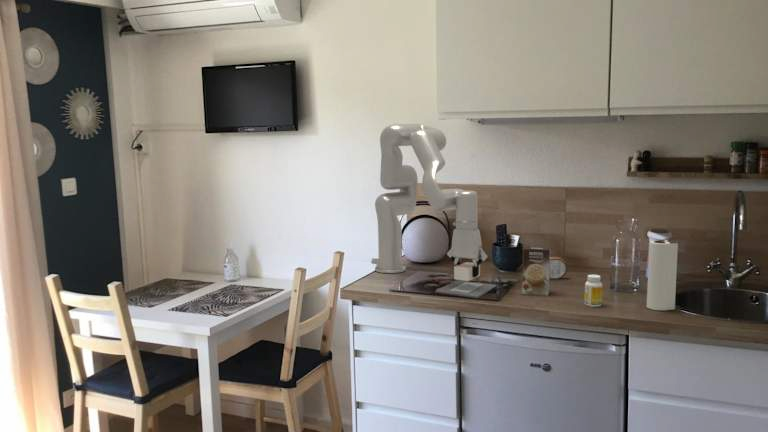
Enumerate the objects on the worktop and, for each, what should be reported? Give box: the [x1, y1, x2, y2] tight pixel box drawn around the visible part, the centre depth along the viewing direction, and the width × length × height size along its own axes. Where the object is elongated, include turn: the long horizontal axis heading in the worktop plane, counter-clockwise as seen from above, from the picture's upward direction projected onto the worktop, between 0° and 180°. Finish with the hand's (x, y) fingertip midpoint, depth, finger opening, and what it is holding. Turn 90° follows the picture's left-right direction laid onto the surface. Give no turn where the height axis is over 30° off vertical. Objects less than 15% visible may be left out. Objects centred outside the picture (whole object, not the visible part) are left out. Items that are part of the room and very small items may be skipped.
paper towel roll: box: [646, 240, 679, 311], centre depth 203 cm, size 7×6×21 cm
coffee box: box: [521, 245, 551, 297], centre depth 224 cm, size 9×6×16 cm
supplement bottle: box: [583, 274, 603, 308], centre depth 209 cm, size 5×5×10 cm
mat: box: [434, 279, 498, 299], centre depth 231 cm, size 16×18×1 cm
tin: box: [549, 256, 568, 280], centre depth 245 cm, size 15×3×8 cm, turn 84°
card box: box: [453, 261, 481, 282], centre depth 231 cm, size 9×6×5 cm, turn 144°
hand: (467, 275), depth 231 cm, fingers closed on card box, 5 cm apart
